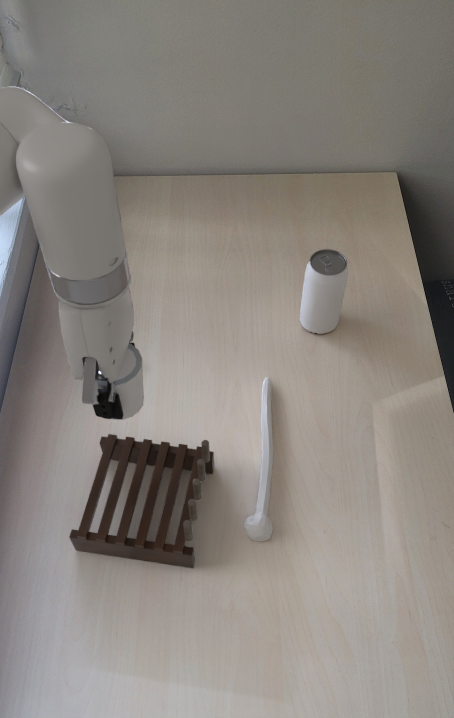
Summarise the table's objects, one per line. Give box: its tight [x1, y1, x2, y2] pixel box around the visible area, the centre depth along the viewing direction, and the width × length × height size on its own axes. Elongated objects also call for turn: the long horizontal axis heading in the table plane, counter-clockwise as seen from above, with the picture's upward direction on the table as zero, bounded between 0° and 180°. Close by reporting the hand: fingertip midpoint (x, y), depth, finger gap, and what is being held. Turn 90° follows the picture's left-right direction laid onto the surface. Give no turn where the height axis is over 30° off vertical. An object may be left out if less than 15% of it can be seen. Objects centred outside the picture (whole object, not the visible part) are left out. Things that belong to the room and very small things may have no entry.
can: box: [298, 248, 349, 335], centre depth 100 cm, size 6×6×12 cm
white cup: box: [98, 343, 145, 421], centre depth 75 cm, size 7×7×7 cm
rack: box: [68, 433, 215, 569], centre depth 85 cm, size 16×16×9 cm
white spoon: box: [242, 376, 274, 542], centre depth 91 cm, size 28×4×3 cm, turn 178°
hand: (117, 389), depth 76 cm, fingers closed on white cup, 6 cm apart
